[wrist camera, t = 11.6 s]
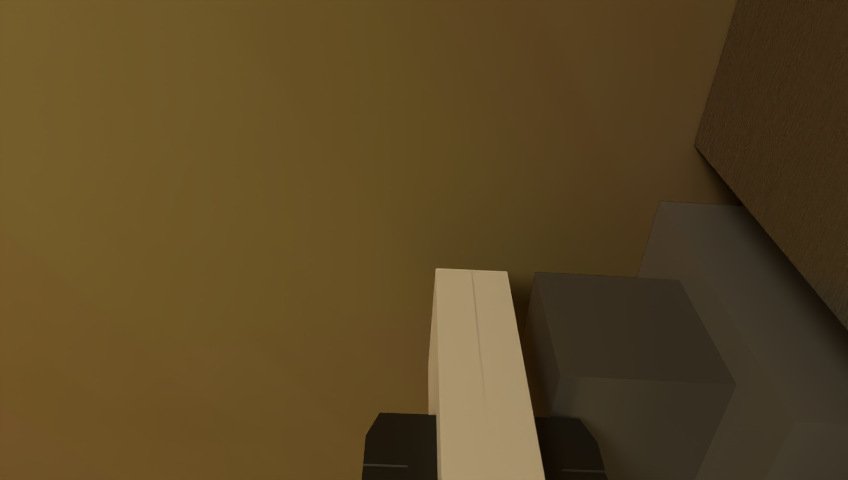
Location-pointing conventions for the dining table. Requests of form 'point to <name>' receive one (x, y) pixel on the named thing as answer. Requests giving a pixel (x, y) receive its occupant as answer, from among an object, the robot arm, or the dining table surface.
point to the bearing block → (788, 132)
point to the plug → (695, 357)
